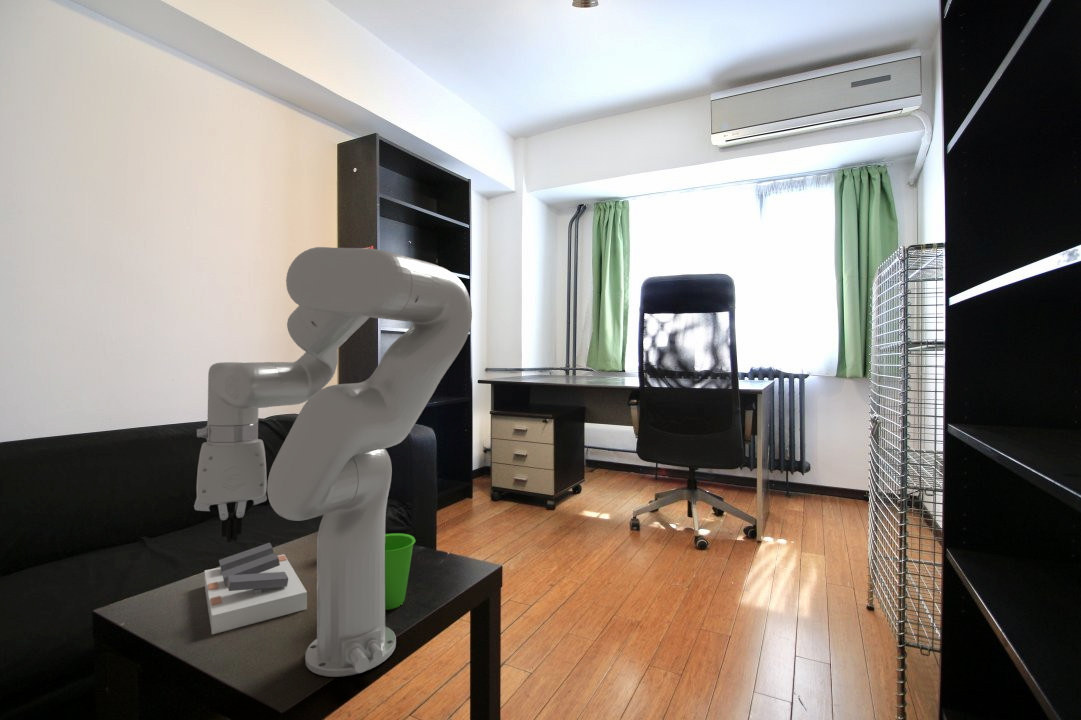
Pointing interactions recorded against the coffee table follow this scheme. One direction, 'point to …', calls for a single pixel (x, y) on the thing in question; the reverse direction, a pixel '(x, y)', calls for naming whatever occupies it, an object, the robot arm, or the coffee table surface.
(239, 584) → the rocker near
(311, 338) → the robot arm
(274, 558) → the rocker middle
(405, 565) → the cup
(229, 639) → the coffee table surface
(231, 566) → the block
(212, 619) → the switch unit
